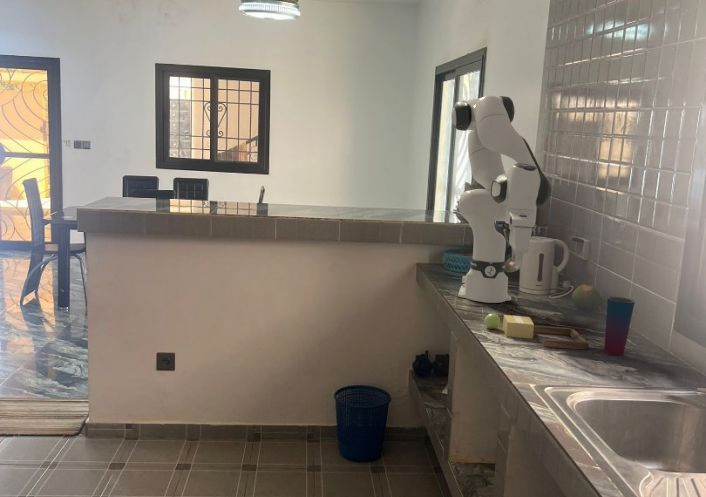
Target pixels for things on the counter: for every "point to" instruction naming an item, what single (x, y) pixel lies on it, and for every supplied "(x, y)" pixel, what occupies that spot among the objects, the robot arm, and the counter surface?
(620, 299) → the cup
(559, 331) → the display bay
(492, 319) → the lime
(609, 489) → the counter surface
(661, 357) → the counter surface
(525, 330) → the carton
